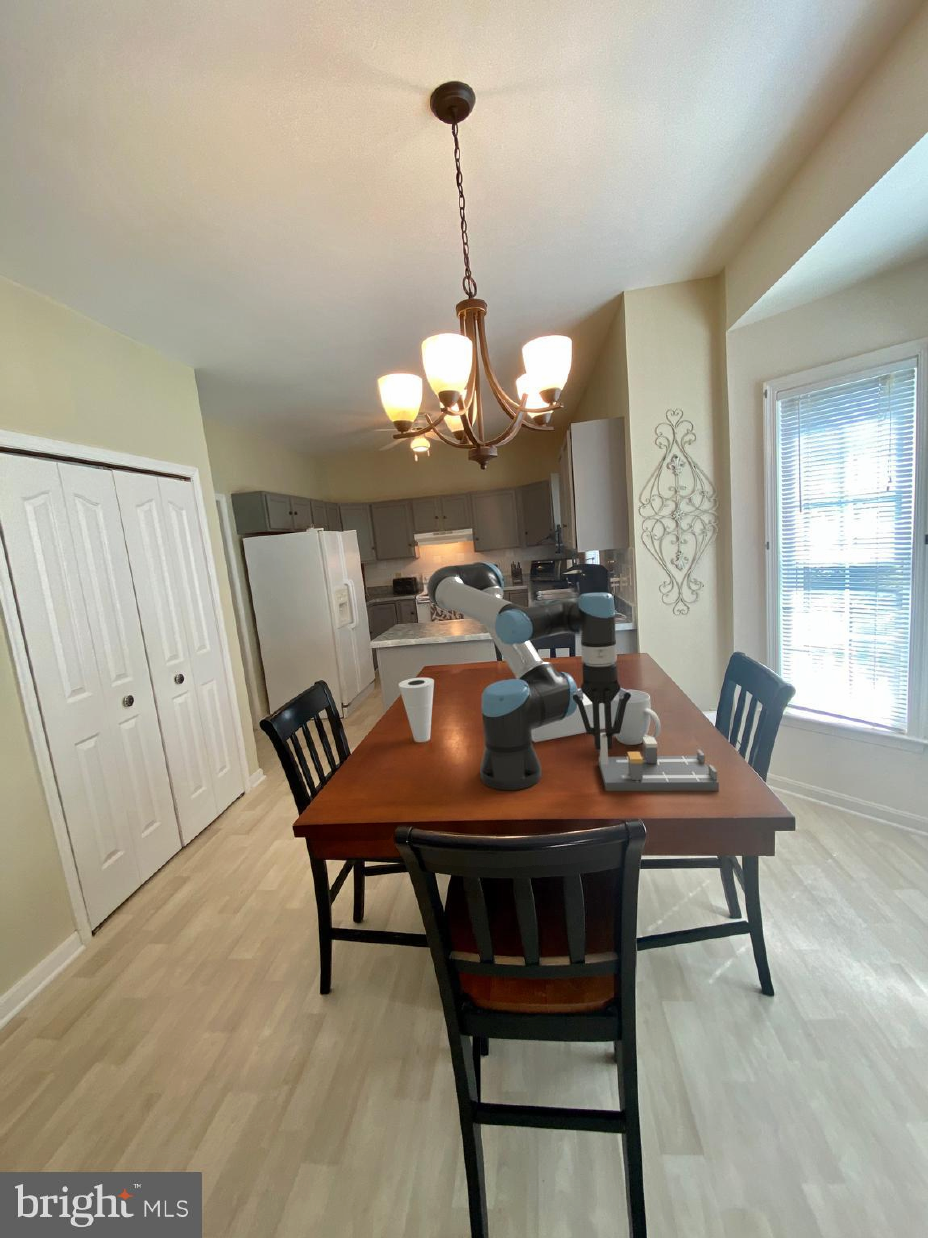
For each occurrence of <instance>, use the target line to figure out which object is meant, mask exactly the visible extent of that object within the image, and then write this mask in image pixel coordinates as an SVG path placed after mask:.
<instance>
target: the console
mask: <svg viewBox="0 0 928 1238" xmlns="http://www.w3.org/2000/svg"><path fill="white" fill-rule="evenodd" d="M641 757H642V759H643V763H642V773H643V780H631V777H630V774H629V768H628V756H608V765H602V764H601V761H600V756H598V766H599V770H600V775H601V777H602V781H603V785H604V788H605V791H606V792H616V791H617V792H627V791H628V792H642V791H643V792H649V791H650V792H651V791H652V792H653V791H654V792H662V791H663V792H667V791H668V792H672V791H673V792H674V791H675V792H676V791H677V792H678V791H679V792H680V791H682V792H684V791H685V792H688V791H689V792H691V791H692V792H693V791H695V792H699V791H701V792H703V791H704V792H705V791H706V792H708V791H709V792H710V791H711V792H712V791H715V792H716V791H717V792H718V791H720V782H719V781H718V771H717V769H716V768H715V767H714V766H713V765H712V764H709V765H707V764H706V762H705V761H706V757H705V753H704V752H703V751H702V749H696V755H657V763H647V762H646V760H645V758H644V755H641Z"/></svg>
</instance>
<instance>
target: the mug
mask: <svg viewBox="0 0 928 1238" xmlns="http://www.w3.org/2000/svg"><path fill="white" fill-rule="evenodd" d="M627 690H628V691H629V692H630V694H631V697H630V699H629V700H628V702H627V704H626V708H625V713H624V717H623V722H622V726H621V731H620V733H619V734H614V735H613V736H614V737H615V738H616V739H617V741H618V742H619V743H621V744H623V745H627V746H635V745H640V744H642V743H643V737H654V739H657V737H659V735H660V734H661V728H662V725H661V721H660V718H659V716H658V715H657V713H656V712H655V711H653V709H651V707H652V706H651V696H650V694H648V693H647V692H645V691H642V690H636V689H627ZM618 702H619V692H618V694H617V695H616V696H615V698H614V699H613V701H612V702H611V720H612V727H613V725H614V721H615V716H616V711H617V707H618ZM651 718H652V720H653V723H654V727H655V730H654V734H652V735H648V733H649V730H650V724H651Z"/></svg>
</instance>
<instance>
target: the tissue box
mask: <svg viewBox="0 0 928 1238" xmlns="http://www.w3.org/2000/svg"><path fill="white" fill-rule="evenodd" d="M580 689H581V688H578V690H580ZM583 697H584V699H583V700H582V701H583V704H584V708H585V711H586V714H587V717H588V720H589V723H590V727H592V728H593V707H592V702H591V701H590V700H589V699H588V698H587V696H586V695H585V694H583ZM599 717H600V730H605V716H604V703H600V704H599ZM531 732H532V742H534V743H538V742H544V741H549V740H552V739H554V740H555V739H559V738H564V737H569V736H574V735H579V734H583V733H587V732H586V729H585V726H584V723H583V720H582V716H581V713H580V710H579V707H578V706H577V708H576V710H575V712H574V713H573V714H572V715H570V716H568V717H566V718H564V719H563V720H560V721H555V722H553V723H550V724H547V725H544V726H541V727H538V728H536V729H533V730H532V731H531Z"/></svg>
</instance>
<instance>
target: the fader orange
mask: <svg viewBox="0 0 928 1238" xmlns="http://www.w3.org/2000/svg"><path fill="white" fill-rule="evenodd" d="M626 755H627V757H628V768H629V774H630V777H631V780H643V773H642V763H643V759H642V757H641V756H642V755H641V752H640V751H627V753H626Z"/></svg>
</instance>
